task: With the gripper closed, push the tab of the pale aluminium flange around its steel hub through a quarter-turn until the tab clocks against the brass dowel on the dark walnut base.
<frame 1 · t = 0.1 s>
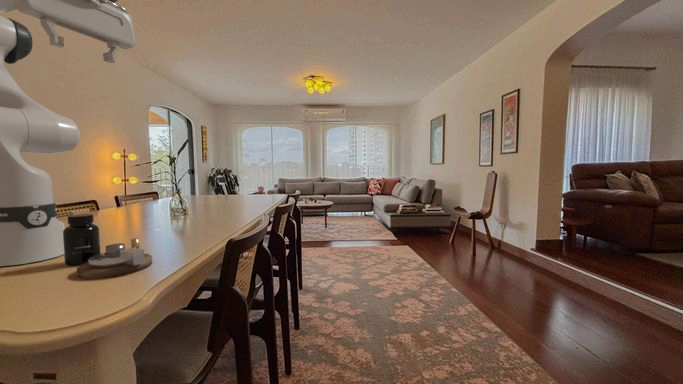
hand: (85, 54, 63), 48 cm above the table, fingers open, 8 cm apart
walnut base: (117, 268, 69), on the table
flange: (120, 253, 68), point 4 cm above the table, hinge at 0.0°
supplement bottle: (83, 263, 74), on the table
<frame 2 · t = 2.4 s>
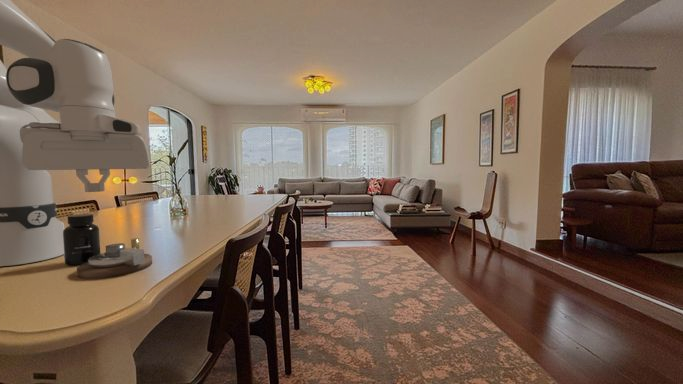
hand: (95, 191, 61), 19 cm above the table, fingers closed
nothing on the table moved.
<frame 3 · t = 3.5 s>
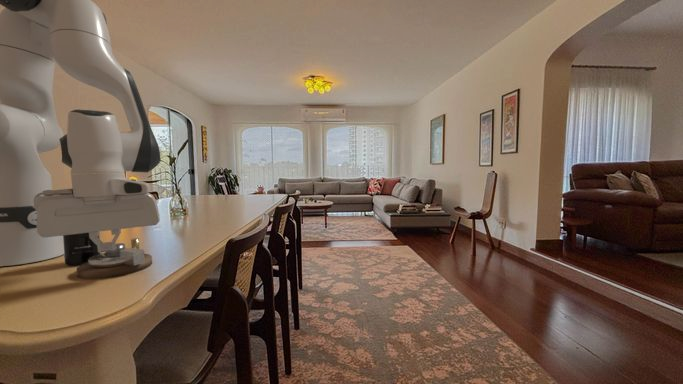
hand: (107, 251, 63), 6 cm above the table, fingers closed
nothing on the table moved.
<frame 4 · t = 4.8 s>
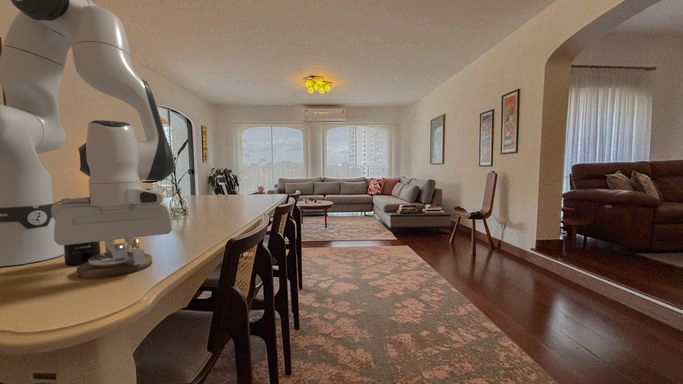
hand: (120, 258, 64), 4 cm above the table, fingers closed
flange: (120, 253, 68), point 4 cm above the table, hinge at 0.4°, touching gripper
everything else where it was.
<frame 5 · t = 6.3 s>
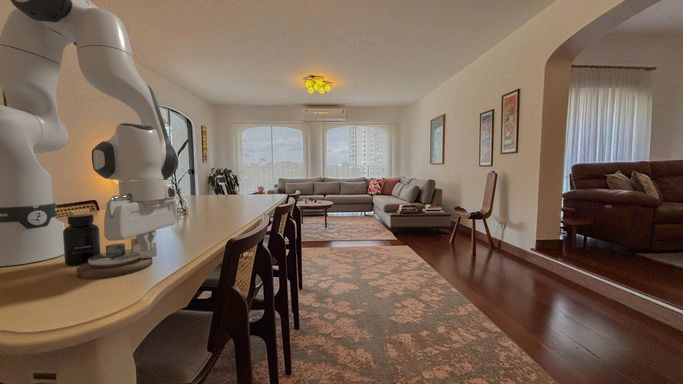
hand: (147, 250, 70), 4 cm above the table, fingers closed
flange: (123, 251, 70), point 4 cm above the table, hinge at 49.7°, touching gripper
everything else where it was.
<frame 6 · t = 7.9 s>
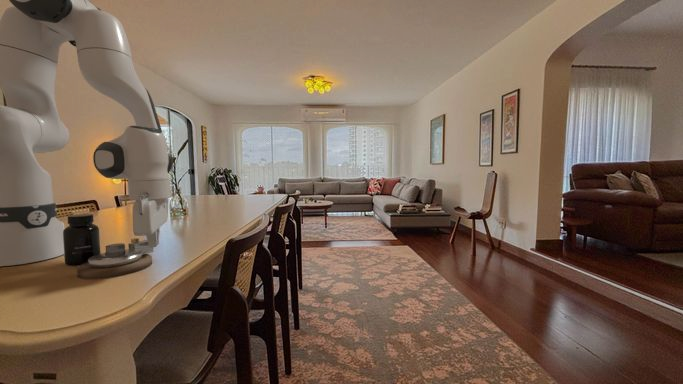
hand: (154, 246, 74), 4 cm above the table, fingers closed
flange: (122, 251, 70), point 4 cm above the table, hinge at 87.6°
everything else where it was.
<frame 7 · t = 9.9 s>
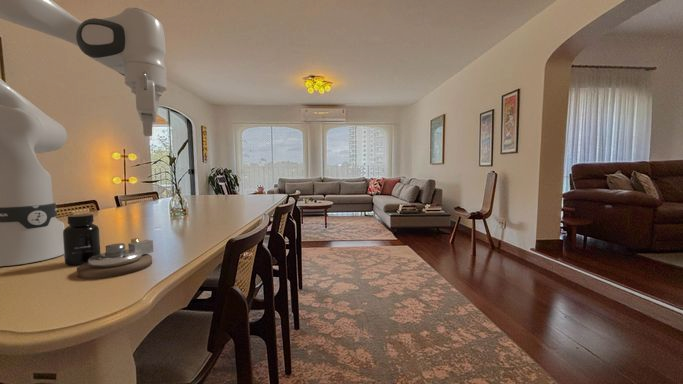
hand: (148, 135, 74), 32 cm above the table, fingers closed
nothing on the table moved.
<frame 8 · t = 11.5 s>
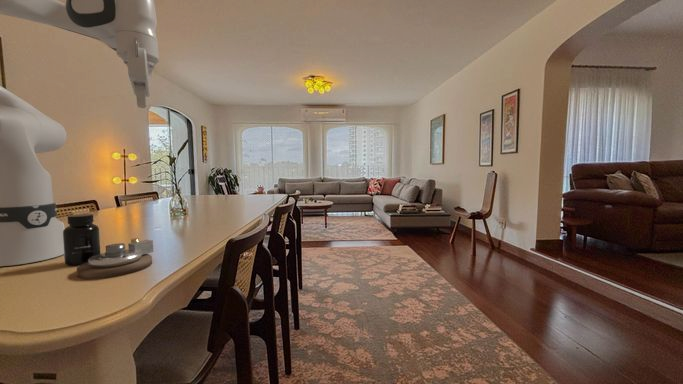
hand: (141, 107, 75), 39 cm above the table, fingers closed
nothing on the table moved.
at the end: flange at +88° (first picture: +0°); supplement bottle moved 0.2 cm from its start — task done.
